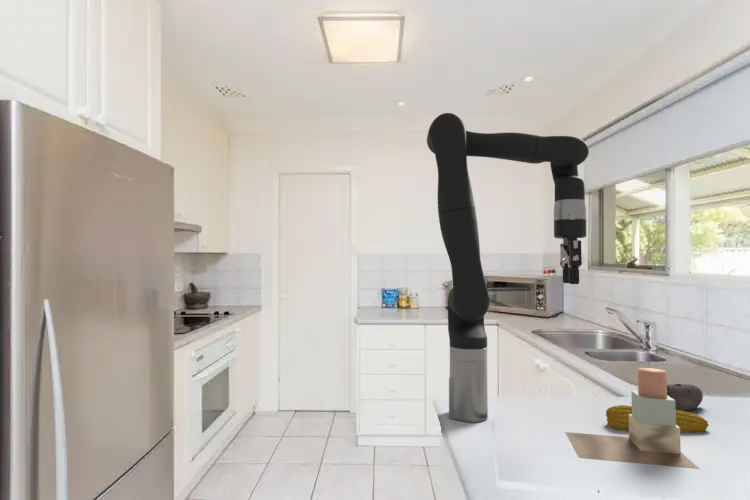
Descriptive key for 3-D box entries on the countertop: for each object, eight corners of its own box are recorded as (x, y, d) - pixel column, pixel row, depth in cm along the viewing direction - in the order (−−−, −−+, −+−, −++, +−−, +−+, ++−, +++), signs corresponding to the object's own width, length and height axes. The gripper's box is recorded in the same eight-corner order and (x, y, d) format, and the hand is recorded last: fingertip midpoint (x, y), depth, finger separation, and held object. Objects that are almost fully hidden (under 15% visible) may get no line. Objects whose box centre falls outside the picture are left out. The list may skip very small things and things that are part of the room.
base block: (640, 450, 89) (639, 424, 89) (629, 437, 96) (628, 413, 96) (680, 454, 88) (679, 427, 88) (666, 440, 94) (665, 416, 95)
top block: (641, 424, 90) (641, 398, 90) (631, 414, 96) (631, 390, 96) (675, 426, 88) (675, 400, 89) (663, 417, 94) (663, 392, 95)
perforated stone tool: (692, 404, 125) (691, 378, 125) (712, 409, 120) (711, 383, 120) (654, 410, 119) (653, 383, 120) (673, 416, 114) (673, 388, 115)
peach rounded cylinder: (643, 397, 91) (642, 372, 91) (634, 391, 95) (634, 367, 96) (671, 399, 89) (670, 373, 90) (661, 393, 94) (660, 368, 94)
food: (614, 436, 100) (613, 408, 101) (603, 427, 106) (602, 401, 106) (714, 439, 99) (713, 411, 99) (697, 430, 105) (697, 404, 105)
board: (579, 462, 86) (578, 457, 86) (565, 436, 99) (565, 432, 99) (699, 474, 81) (699, 468, 81) (668, 445, 95) (667, 440, 95)
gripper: (549, 222, 122) (550, 282, 121) (558, 215, 108) (559, 284, 107) (579, 221, 120) (580, 283, 120) (592, 215, 107) (593, 284, 106)
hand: (570, 283), depth 114 cm, fingers open, 8 cm apart
